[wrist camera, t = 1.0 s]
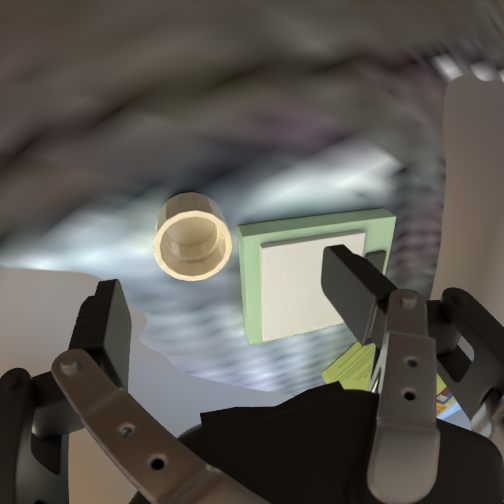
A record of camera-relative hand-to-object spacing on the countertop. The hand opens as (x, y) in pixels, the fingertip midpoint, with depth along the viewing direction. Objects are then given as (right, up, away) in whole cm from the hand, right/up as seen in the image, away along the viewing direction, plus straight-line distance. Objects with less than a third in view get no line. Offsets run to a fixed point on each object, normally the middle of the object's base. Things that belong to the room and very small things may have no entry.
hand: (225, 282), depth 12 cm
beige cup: (-5, +4, +17) cm, 18 cm away
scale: (+8, -1, +23) cm, 25 cm away
